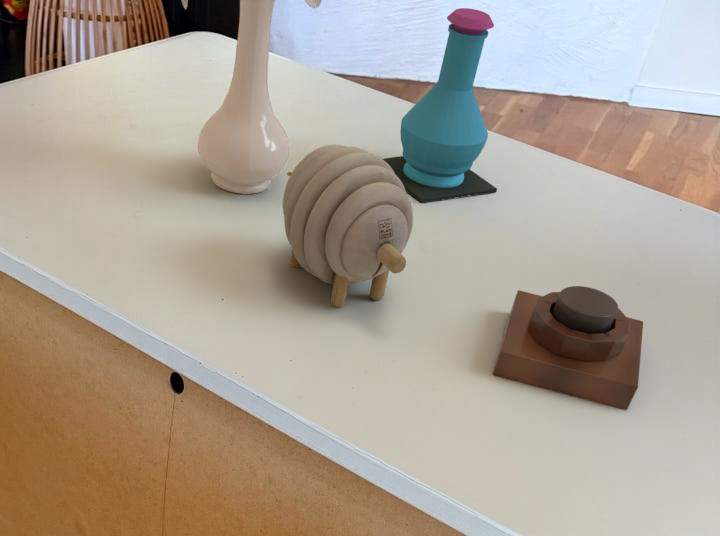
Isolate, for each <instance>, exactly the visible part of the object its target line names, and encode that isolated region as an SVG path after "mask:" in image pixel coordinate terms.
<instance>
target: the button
mask: <svg viewBox="0 0 720 536" xmlns="http://www.w3.org/2000/svg"><path fill="white" fill-rule="evenodd" d="M559 292H560V293H559V296H558V298H557V301H556V304H555V306H554V309H553V312H552V316H553V317H554V318H555V320H556V321H557V322H559V323H561V324H563V325H564V326H566V327H568V328H570V329H572V330H575V331H579V332H583V333H587V334H603V333H607V332H608V331H609V330H610V328H611V325H612V323H613V321H614V318H615V316H616V314H617V311H618V308H619V305H618V302H617V301H616V300H615V299H614V297H612V296H610V295H609V294H607V293H605V292H603V291H602V290H599V289H596V288H593V287H588V286H583V285H582V286H581V285H573V286H567V287H565V288H563V289H561V290H560V291H559Z"/></svg>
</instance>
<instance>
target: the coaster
mask: <svg viewBox="0 0 720 536" xmlns="http://www.w3.org/2000/svg"><path fill="white" fill-rule="evenodd" d="M382 159H383V160H384V161H385V162H387V163H388V164H389V166H390V167H391V168H392V170H393V171H394V173H395V175H396V176H397V177H398V178H399V179H400V180H401V182H402V184H403V186H404V188H405V191H406V193H407V194H409V195H410V196H411V197H412V198H414V199H415V200H416V201H417V202H419V203H421V204H423V203H430V202H436V200H438V201H443V200H442V199H445V200H450V199H449V198H452V199H456V198H455V197H459V198H462V197H461V196H466V197H469V196H468V195H472V196H476V195H475V194H479V195H485V193H486V194H491V193H496V192H497V190H498V188H497V187H495V185H493V184H491V183H490V182H489V181H487V180H486V179H484V178H483V177H481V176H480V175H479V174H477V173H476V172H474V171H473V170H472V169H471V168H470V169H469V170H468V171H466V172H464V180H463V182H462V183H461V184H460V185H458V186H454V187H447V188H441V187H432V186H427V185H424V184H421V183H418V182H416V181H413V180H412V179H410V178H409V177H407V176H406V175H405V173H404V171H403V169H404V165H405V164H406V162H407V161H406V160H405V159H404V157H403V155H400V156H391V157H385V158H382Z"/></svg>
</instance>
